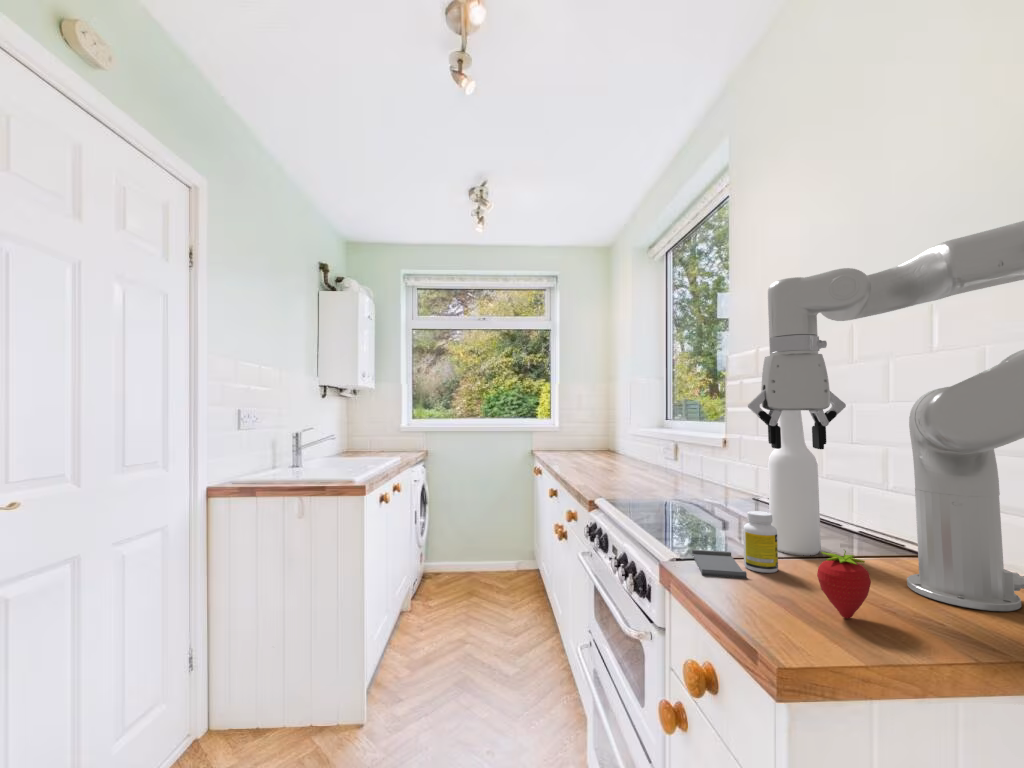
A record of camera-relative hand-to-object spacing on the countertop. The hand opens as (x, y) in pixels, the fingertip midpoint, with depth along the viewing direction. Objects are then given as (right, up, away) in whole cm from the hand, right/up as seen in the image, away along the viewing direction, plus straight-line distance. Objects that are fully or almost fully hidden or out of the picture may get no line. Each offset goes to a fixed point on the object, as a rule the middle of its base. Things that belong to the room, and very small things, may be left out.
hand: (797, 447), depth 85 cm
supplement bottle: (-6, -22, 0) cm, 23 cm away
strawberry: (-6, -21, -20) cm, 29 cm away
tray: (-13, -22, +2) cm, 26 cm away
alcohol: (+7, -22, +12) cm, 26 cm away
